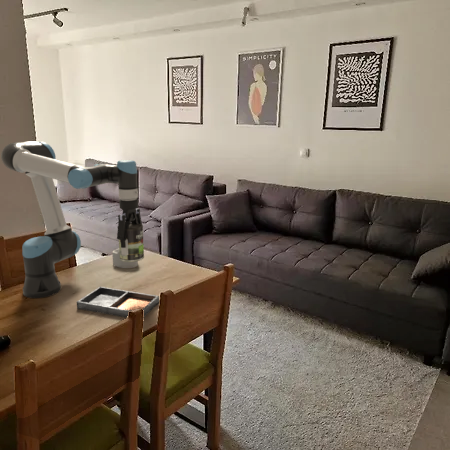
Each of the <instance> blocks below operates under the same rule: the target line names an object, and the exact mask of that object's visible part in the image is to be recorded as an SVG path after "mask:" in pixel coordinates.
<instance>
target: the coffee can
mask: <svg viewBox="0 0 450 450" xmlns="http://www.w3.org/2000/svg"><path fill="white" fill-rule="evenodd" d="M117 229H118V226H117ZM125 230H127V238H126V239H128V255H122V254H121V240H118V248H119V254H120V260H121V261H124V262H135V261H138V262H139V261H142V260H144V258H145V250H144V248H145V246H144V226H143V223H142V224H137V225H136V224H132V223H131V224H129V228H128V229H125Z"/></svg>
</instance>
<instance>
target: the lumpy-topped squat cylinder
mask: <svg viewBox="0 0 450 450" xmlns="http://www.w3.org/2000/svg"><path fill="white" fill-rule="evenodd" d="M111 256H112V266H114V267H117V268H121V269H130V268H136V267H138V265H139V261H135V262H124V261H121V260H120V254H119V247H118V248H116V249H114V250H112V255H111Z"/></svg>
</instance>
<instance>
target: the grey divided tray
mask: <svg viewBox="0 0 450 450" xmlns="http://www.w3.org/2000/svg"><path fill="white" fill-rule="evenodd" d="M158 304H160V296H159V295H155V294H148V293H142V292H137V291H131V290H124V289H119V288H112V287H106V286H98V287H97V288H95V289H94V290H92V291H91V292H90V293H88V294H86V295H84V296H83V297H81V298H80V299H79V300H76V309H77V310H82V311H83V310H84V311H88V312H93V313H99V314H104V315H110V316H115V317H121V318H126V317H127V316H128V312H129V311H132V310H135V309H143V310H144V317H143V318H145V317H146V316H147V315H148V314H149V313H150V312H151V311H152V310H153V309H154V308H155V307H157V305H158Z"/></svg>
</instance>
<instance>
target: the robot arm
mask: <svg viewBox="0 0 450 450" xmlns="http://www.w3.org/2000/svg"><path fill="white" fill-rule="evenodd" d="M0 158H1V162H2V163H3V164H4V166H5V167H6V168H7V169H9V170H11V171H14V172H17V173H22V174H23V173H25V176H27V177H29V178H30V179H31V183H32V186H33V190H34V194H35V196H36V200H37V203H38V206H39V209H40V212H41V215H42V218H43V223H44V225H45V229H46V230H45V231H44V235H42V236H41V235H39V236H37V237H36V236H35V237H31V238H29V239H27V240H25V242H23V244H22V248H21V249H22V252H21V254H22V255H21V256H22V257H23V264H24V265H23V267H24V273H25V278H24V282H23V287H22V294H23V296H24V297H26V298H29V299H41V298H47V297H50V296H53V295H56V294H58V293H59V292H60V291H61V290H62V285H61V284H62V283H61V281H60V280H59V278H58V276H57V273H56V270H55V269H56V268H55V264H57V263H59V262H61V261H64V260H67V259H70V258H72V257H73V256H74V255H76V254H78V253H79V251H80V249H81V245H82V241H81V238H80V236H79V233H77V232H76V231H74V230H72V227H71V226H70V225H67V222H66V218H65V215H64V213H63V209H62V205H61V203H60V198H59V195H58V193H57V189H56V185H55V183H54V180H57V181H61V182H64V183H68V184H69V185H70V186H72V188H73V189H77V190H78V189H79V190H81V189H84V190H85V189H87V188H90V187H95V186H100V185H103V184H104V185H105V184H117V185H118V187H117V188H118V199H119V203H118V204H119V208H120V210H122V212H121V213H122V214H118V216H117V218H118V222H117V227H118V228H117V233H116V239H117V241H119V240H121V254H122V255H128V239H126V238H127V230H125V229H128V228H129V224H131V223H132V224H136V225H137V224H142V225H143V222H142V217H141V208H140V207H139V199H138V198H139V191H138V190H139V189H138V169H137V168H138V167H137V162H136V161H135V160H131V159H128V160H127V159H121V160H118V161H117V162H116V164H108V163H107V164H105V163H96V164H95V163H94V165H93V166H82V165H79V164H76V163H75V164H74V163H71V162H67V161H62V160H59V159H56V154H55V150H54V149H53V147H52V146H51V145H50V144H48V143H47V142H45V141H42V140H41V141H37V140H34V141H31V140H30V141H19V142H18V141H16V142H11V143H8V144H7V145H5V146H4V147H3V148H2V150H1V154H0Z"/></svg>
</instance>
